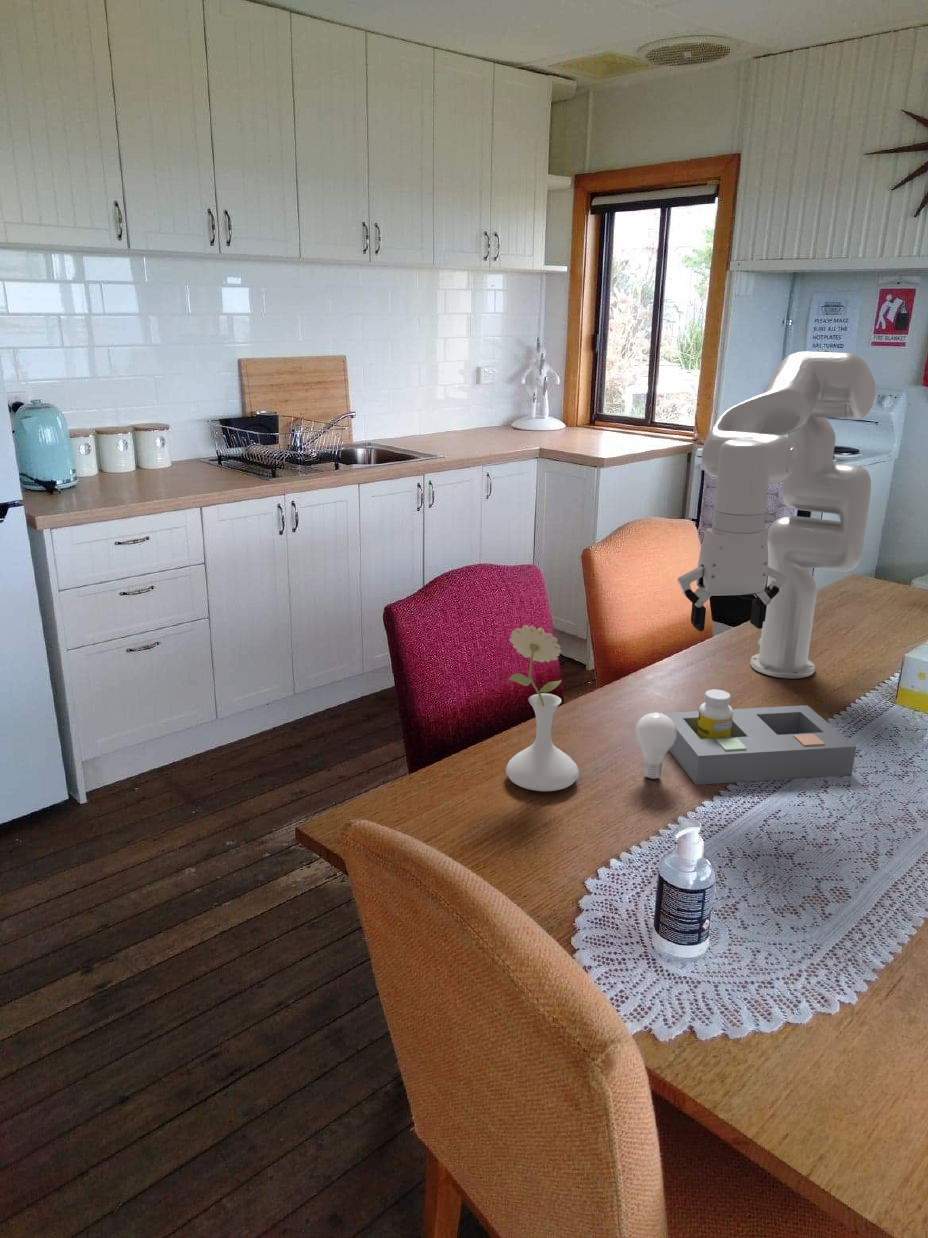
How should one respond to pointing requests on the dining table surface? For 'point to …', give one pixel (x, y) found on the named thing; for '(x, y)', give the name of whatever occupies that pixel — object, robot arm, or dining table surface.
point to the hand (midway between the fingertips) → (727, 627)
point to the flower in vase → (540, 721)
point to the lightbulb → (655, 741)
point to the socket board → (763, 747)
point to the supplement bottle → (715, 715)
